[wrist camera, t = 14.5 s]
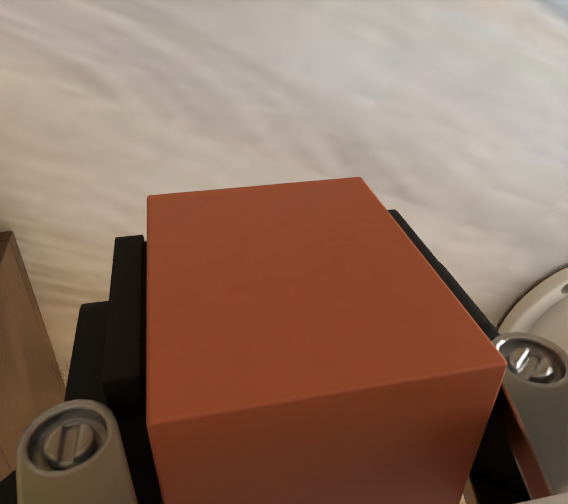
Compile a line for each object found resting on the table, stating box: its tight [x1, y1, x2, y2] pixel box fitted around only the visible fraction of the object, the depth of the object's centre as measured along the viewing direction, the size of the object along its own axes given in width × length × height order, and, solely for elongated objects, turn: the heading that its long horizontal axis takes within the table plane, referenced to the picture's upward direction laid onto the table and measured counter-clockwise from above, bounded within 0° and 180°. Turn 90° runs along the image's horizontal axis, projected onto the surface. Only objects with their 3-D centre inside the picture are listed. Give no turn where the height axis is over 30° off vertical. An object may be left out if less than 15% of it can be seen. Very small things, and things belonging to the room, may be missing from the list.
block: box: [146, 177, 508, 504], centre depth 9 cm, size 4×4×6 cm
